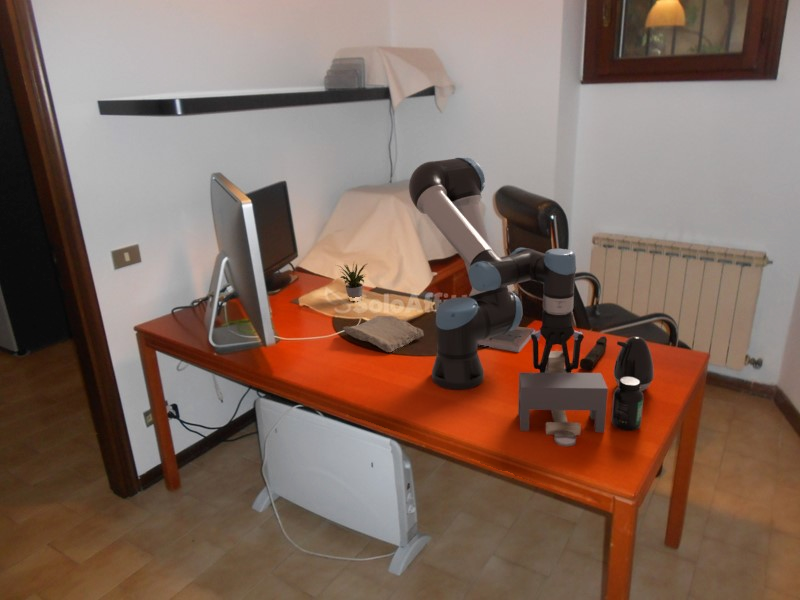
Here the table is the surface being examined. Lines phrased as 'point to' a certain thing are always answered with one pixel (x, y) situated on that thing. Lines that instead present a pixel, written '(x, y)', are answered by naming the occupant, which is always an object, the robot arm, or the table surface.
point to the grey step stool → (562, 395)
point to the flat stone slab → (385, 332)
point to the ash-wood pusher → (559, 417)
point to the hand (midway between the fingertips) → (554, 391)
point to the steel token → (565, 438)
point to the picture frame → (509, 339)
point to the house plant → (353, 281)
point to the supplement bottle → (627, 404)
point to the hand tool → (594, 354)
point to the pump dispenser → (634, 361)
